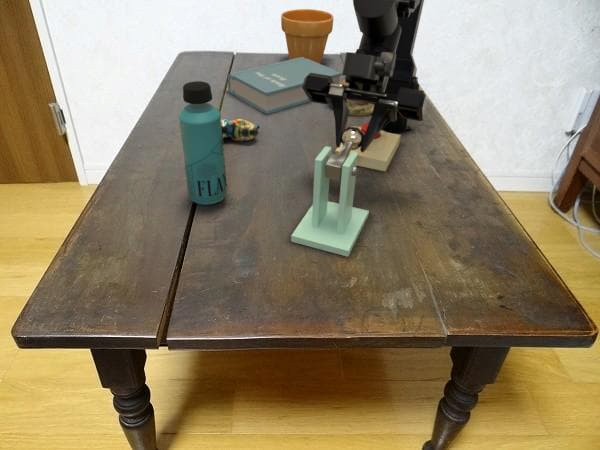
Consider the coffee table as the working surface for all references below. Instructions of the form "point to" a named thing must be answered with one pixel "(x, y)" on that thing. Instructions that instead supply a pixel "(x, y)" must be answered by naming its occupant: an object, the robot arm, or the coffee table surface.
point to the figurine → (239, 129)
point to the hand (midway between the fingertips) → (349, 149)
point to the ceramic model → (358, 105)
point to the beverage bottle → (202, 145)
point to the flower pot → (306, 33)
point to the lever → (344, 152)
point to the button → (364, 128)
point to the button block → (377, 151)
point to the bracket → (332, 211)
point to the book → (276, 84)
